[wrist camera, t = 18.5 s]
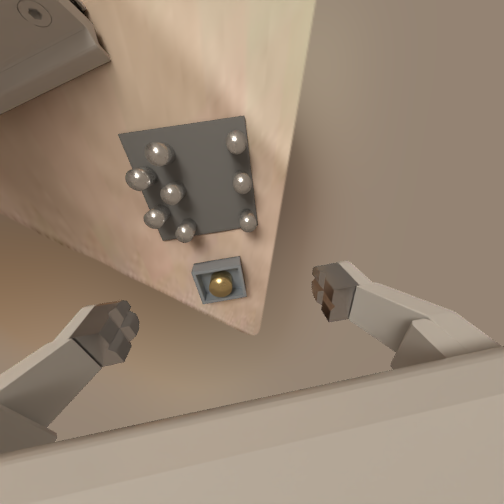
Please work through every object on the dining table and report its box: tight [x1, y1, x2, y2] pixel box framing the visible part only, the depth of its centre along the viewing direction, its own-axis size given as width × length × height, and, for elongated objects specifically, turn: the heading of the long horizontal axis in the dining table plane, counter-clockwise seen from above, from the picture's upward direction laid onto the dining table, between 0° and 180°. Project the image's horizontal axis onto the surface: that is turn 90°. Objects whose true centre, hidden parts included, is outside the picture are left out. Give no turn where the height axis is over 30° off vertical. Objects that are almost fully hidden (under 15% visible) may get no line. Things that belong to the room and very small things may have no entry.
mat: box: [118, 116, 258, 241], centre depth 29 cm, size 17×16×1 cm
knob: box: [209, 270, 232, 297], centre depth 37 cm, size 4×4×3 cm
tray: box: [192, 256, 247, 304], centre depth 37 cm, size 9×8×3 cm
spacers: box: [125, 130, 257, 243], centre depth 27 cm, size 16×14×4 cm
